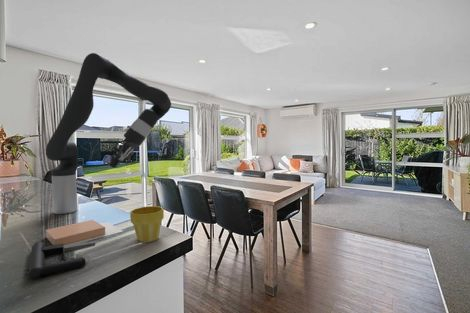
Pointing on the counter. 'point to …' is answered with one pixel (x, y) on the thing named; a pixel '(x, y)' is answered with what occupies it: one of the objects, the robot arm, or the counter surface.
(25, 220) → the counter surface
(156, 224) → the plant pot
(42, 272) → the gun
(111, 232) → the grey mat
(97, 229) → the terracotta tile
